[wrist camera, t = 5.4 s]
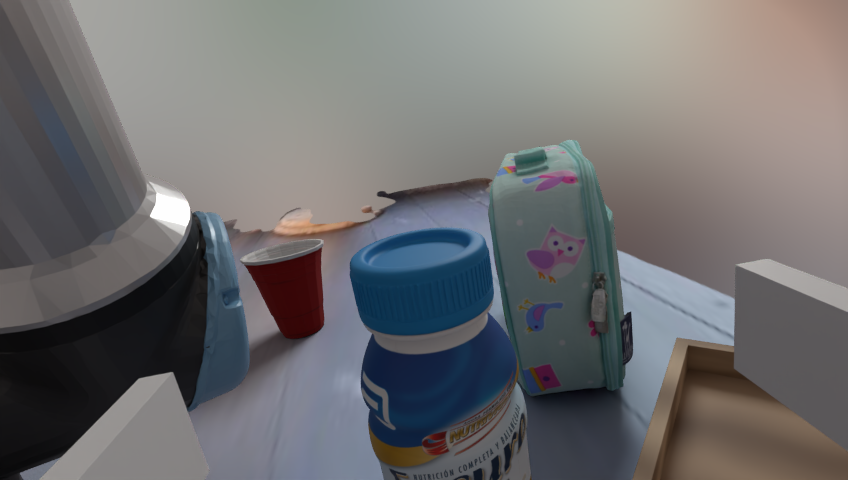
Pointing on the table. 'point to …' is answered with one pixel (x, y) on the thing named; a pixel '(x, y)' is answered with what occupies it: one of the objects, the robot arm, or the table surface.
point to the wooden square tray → (729, 427)
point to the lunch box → (559, 271)
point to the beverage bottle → (438, 360)
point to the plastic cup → (290, 284)
